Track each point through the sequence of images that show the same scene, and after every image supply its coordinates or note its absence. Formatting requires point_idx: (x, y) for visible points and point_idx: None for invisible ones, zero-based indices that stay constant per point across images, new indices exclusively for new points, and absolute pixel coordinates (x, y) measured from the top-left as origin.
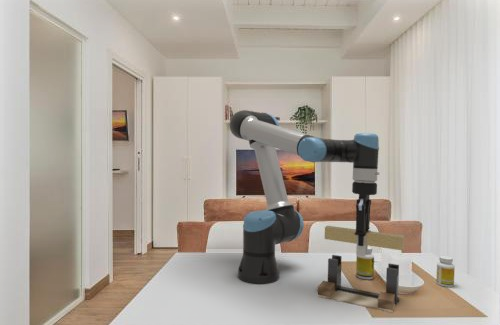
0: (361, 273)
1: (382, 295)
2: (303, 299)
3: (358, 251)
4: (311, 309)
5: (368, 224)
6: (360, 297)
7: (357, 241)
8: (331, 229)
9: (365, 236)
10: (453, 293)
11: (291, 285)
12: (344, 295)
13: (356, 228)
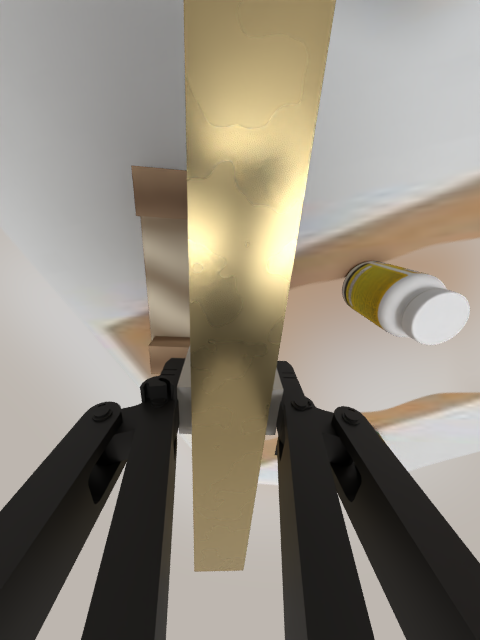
0: (351, 282)
1: (175, 353)
2: (86, 130)
3: None
4: (37, 178)
5: (338, 489)
6: None
7: (185, 362)
8: (189, 131)
9: (180, 429)
10: None
11: (181, 31)
12: (182, 254)
13: (58, 450)
